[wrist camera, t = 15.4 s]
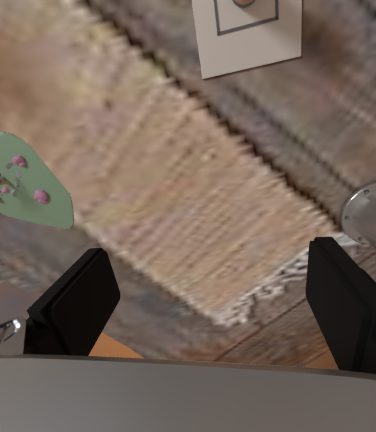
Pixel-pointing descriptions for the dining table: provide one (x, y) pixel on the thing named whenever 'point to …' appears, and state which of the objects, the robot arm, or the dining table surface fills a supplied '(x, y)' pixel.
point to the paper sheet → (246, 34)
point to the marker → (243, 3)
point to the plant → (31, 186)
